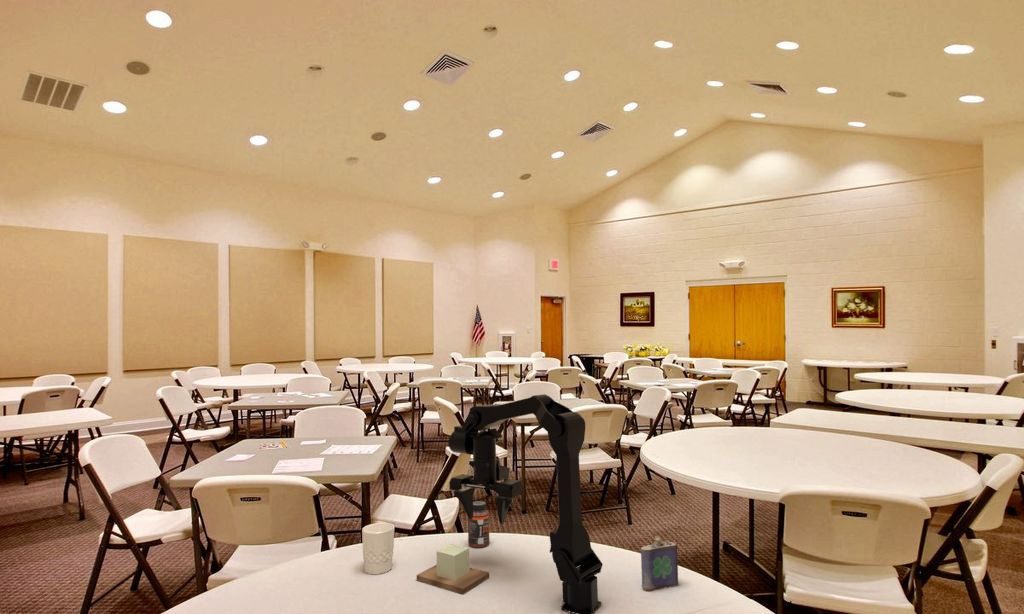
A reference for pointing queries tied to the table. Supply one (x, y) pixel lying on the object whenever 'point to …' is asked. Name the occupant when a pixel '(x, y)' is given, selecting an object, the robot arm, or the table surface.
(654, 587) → the flask
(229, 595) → the table surface
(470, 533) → the supplement bottle
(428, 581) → the walnut board
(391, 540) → the white cup
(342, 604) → the table surface
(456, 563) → the sage cube
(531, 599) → the table surface
